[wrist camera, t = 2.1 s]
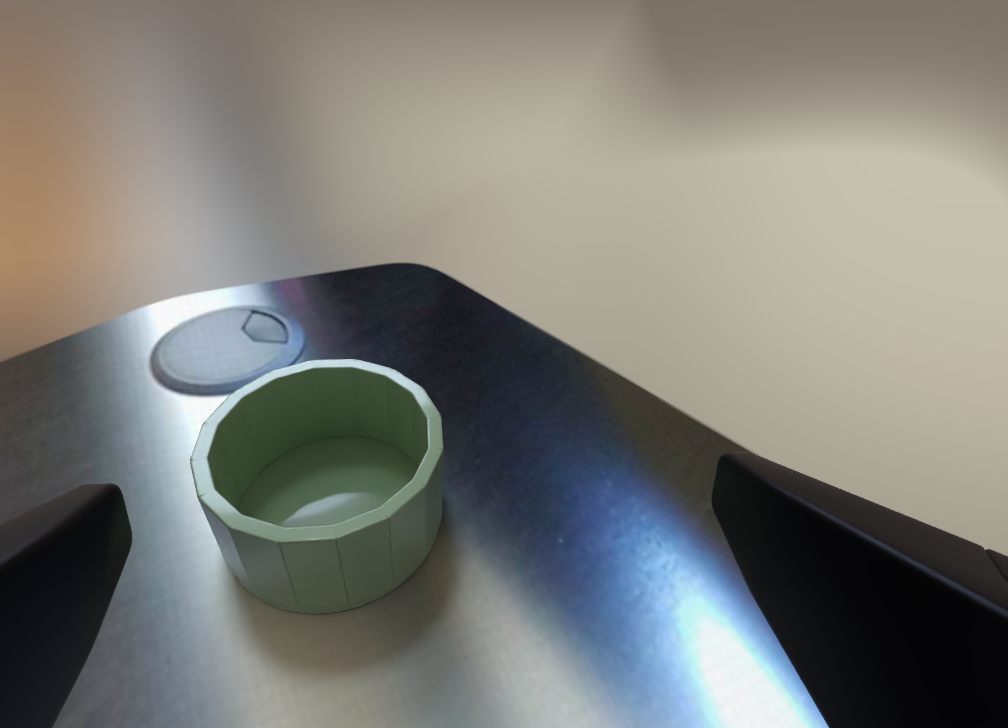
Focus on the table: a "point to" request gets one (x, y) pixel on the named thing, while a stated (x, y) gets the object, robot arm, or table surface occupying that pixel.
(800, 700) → the table surface
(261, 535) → the pale green bowl
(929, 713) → the robot arm
